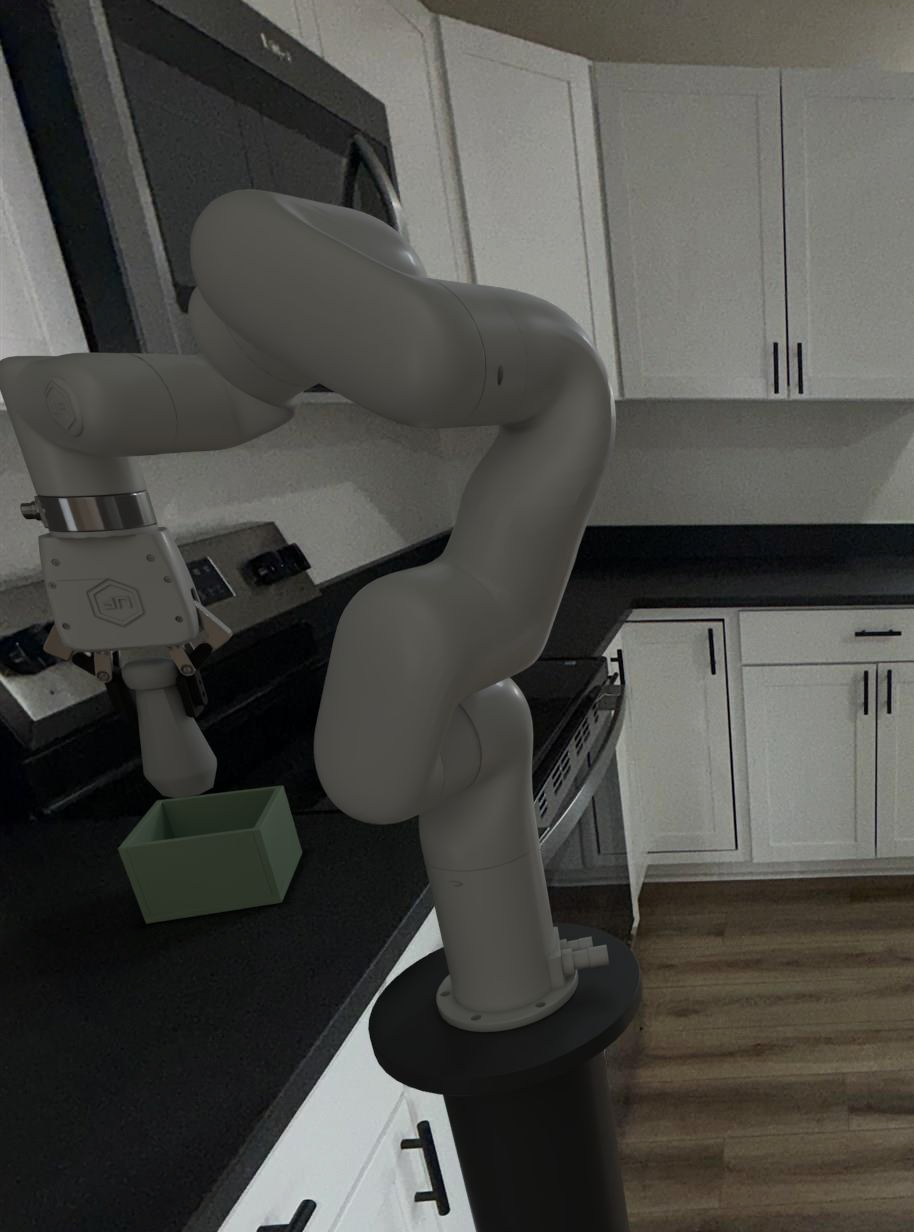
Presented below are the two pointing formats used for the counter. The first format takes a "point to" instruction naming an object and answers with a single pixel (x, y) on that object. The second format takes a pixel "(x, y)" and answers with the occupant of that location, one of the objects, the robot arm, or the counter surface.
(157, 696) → the salt shaker
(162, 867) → the bin
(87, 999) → the counter surface
